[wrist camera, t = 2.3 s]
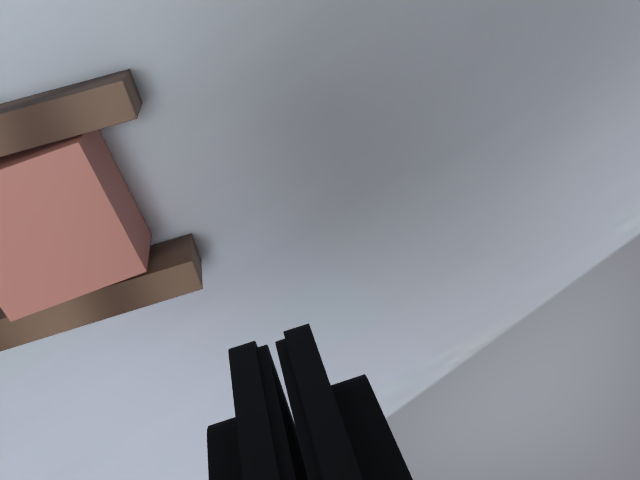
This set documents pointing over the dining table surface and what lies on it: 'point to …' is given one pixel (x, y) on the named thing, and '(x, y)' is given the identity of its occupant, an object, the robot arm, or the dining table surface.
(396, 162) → the dining table surface
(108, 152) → the pink square block
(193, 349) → the dining table surface
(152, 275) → the walnut chute
